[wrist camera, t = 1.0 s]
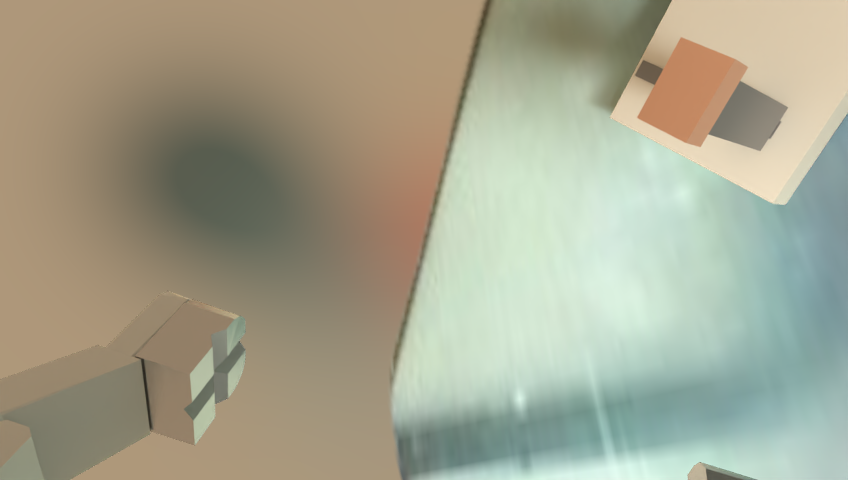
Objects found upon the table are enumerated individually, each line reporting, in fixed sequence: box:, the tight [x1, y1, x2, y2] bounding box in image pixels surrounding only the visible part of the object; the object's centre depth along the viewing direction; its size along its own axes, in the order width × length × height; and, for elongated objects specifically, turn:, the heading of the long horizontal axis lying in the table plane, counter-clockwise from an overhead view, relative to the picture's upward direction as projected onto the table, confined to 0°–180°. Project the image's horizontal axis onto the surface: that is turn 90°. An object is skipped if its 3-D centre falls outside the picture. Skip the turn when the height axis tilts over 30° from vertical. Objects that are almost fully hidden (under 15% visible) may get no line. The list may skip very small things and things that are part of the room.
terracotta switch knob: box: [637, 37, 788, 151], centre depth 36 cm, size 3×4×12 cm
